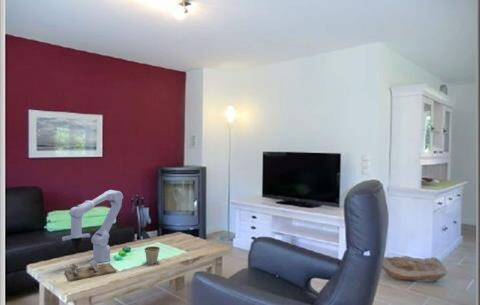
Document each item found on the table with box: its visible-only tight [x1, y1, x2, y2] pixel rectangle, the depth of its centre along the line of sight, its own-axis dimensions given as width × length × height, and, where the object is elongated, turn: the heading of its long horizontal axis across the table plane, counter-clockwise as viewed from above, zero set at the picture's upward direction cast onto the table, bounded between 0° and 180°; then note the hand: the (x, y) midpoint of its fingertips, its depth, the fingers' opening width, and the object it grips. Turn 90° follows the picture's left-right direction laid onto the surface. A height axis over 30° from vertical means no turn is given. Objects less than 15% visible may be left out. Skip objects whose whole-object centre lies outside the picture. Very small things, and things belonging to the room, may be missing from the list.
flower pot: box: [143, 246, 161, 265], centre depth 214 cm, size 9×9×9 cm
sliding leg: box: [88, 260, 98, 271], centre depth 198 cm, size 3×8×3 cm, turn 35°
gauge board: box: [64, 262, 117, 282], centre depth 196 cm, size 24×14×6 cm, turn 125°
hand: (76, 250), depth 204 cm, fingers closed
